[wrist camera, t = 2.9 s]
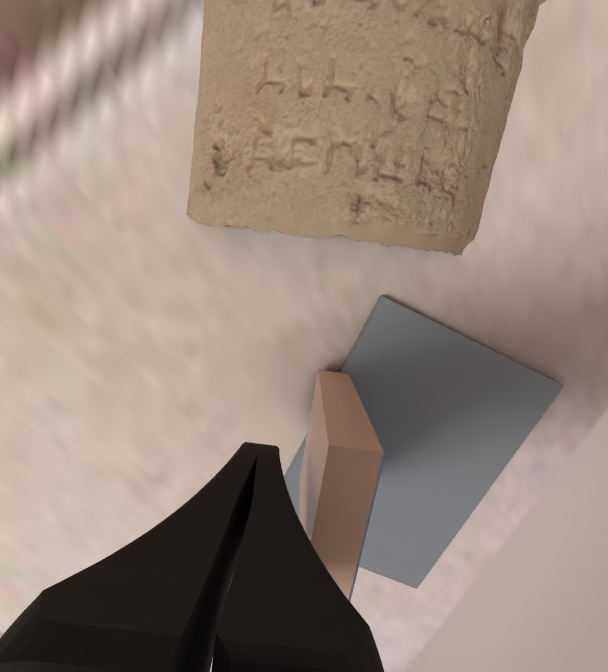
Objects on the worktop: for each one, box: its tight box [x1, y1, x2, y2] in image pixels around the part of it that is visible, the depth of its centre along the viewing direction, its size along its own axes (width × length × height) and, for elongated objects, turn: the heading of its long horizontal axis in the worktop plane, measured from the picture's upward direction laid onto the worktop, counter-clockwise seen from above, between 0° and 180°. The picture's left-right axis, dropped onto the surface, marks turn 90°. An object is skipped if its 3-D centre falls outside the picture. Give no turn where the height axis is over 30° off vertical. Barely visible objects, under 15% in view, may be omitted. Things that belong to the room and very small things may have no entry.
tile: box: [299, 370, 385, 601], centre depth 11 cm, size 6×2×6 cm, turn 172°
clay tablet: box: [186, 0, 546, 255], centre depth 11 cm, size 14×10×3 cm
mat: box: [284, 296, 564, 589], centre depth 15 cm, size 14×10×1 cm
